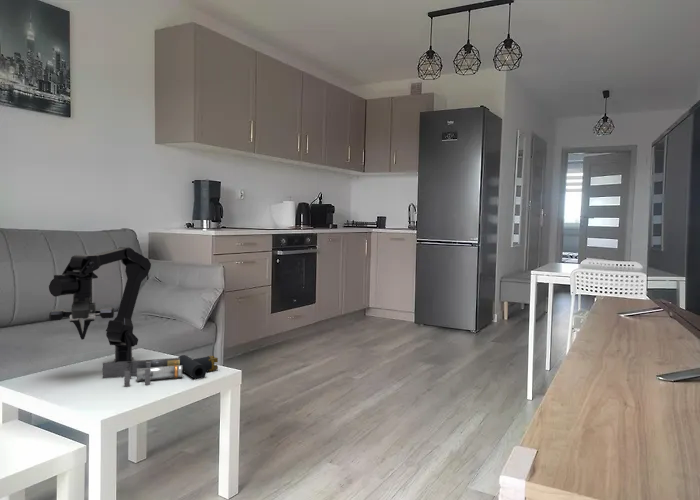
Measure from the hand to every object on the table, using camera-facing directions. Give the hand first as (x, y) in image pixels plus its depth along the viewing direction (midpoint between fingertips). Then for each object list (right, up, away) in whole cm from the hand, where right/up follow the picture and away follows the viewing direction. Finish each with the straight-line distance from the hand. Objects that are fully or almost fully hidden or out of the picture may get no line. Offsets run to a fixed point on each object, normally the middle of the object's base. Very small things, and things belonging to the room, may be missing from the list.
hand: (82, 339), depth 169 cm
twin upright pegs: (+21, -13, -5) cm, 25 cm away
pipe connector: (+37, -13, +7) cm, 40 cm away
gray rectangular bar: (+20, -12, 0) cm, 23 cm away
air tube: (+27, -13, -3) cm, 30 cm away
